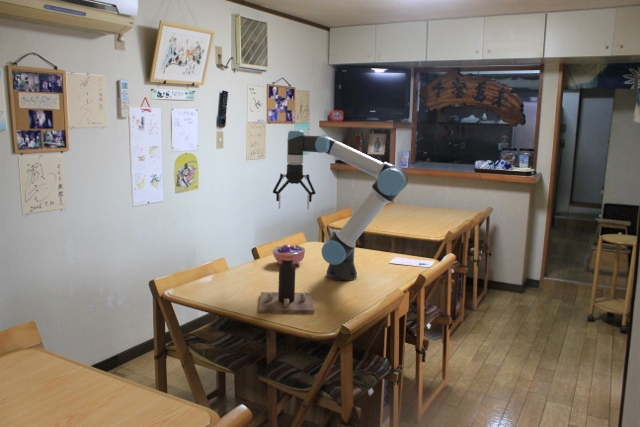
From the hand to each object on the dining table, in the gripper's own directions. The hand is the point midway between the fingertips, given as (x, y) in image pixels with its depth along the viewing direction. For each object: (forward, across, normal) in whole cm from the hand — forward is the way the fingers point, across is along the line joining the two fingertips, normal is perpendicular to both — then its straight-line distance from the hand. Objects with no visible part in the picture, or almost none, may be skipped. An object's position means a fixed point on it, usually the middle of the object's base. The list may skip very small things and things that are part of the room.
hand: (293, 208), depth 256 cm
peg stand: (+35, +3, +37) cm, 51 cm away
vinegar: (+33, +3, +37) cm, 50 cm away
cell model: (+35, +1, -27) cm, 44 cm away
